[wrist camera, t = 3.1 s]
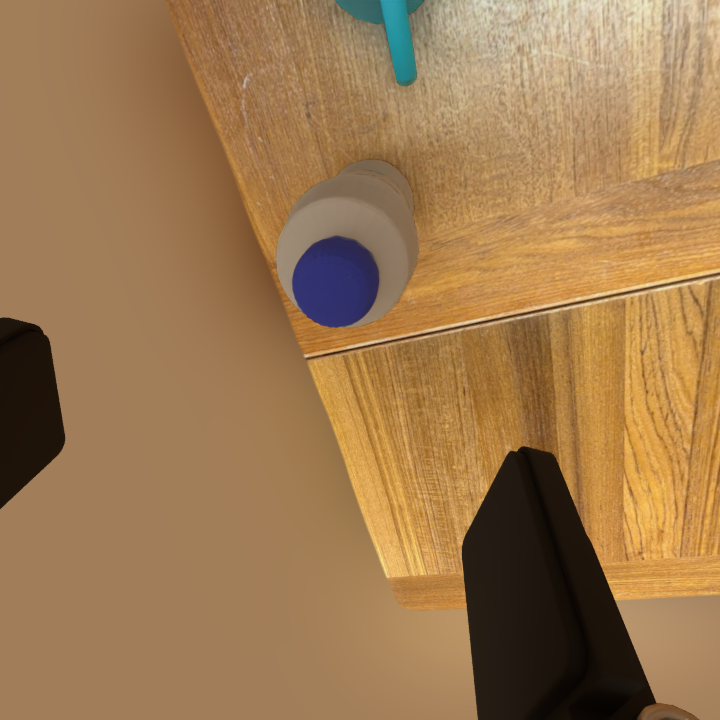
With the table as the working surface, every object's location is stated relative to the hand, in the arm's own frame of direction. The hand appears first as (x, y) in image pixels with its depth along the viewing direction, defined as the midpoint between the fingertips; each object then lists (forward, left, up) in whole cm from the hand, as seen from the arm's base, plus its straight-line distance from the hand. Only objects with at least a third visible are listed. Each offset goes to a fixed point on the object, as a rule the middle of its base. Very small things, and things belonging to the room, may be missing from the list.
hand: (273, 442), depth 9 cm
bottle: (0, 0, -28) cm, 28 cm away
